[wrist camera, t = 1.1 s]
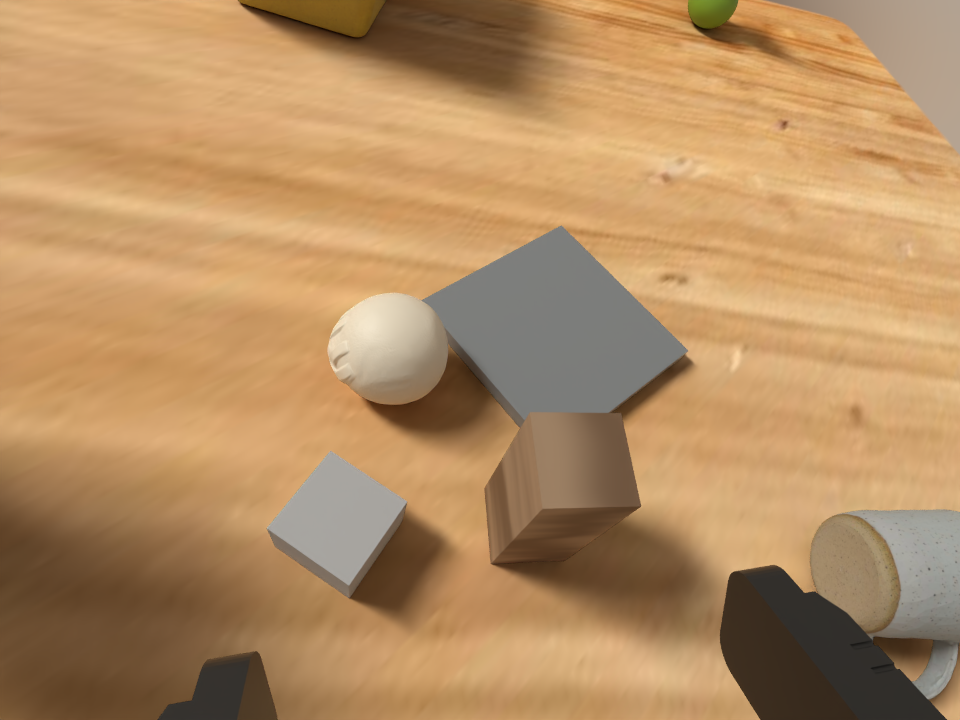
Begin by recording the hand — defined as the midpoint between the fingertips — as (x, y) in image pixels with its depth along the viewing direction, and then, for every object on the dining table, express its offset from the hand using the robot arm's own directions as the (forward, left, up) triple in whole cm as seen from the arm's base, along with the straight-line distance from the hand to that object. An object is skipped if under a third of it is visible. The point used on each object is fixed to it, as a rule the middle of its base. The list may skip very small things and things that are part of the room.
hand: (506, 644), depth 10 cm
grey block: (-9, +2, -24) cm, 26 cm away
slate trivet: (-12, +22, -24) cm, 34 cm away
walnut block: (-3, +11, -24) cm, 27 cm away
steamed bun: (-16, +10, -24) cm, 30 cm away
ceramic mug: (+15, +26, -24) cm, 38 cm away
